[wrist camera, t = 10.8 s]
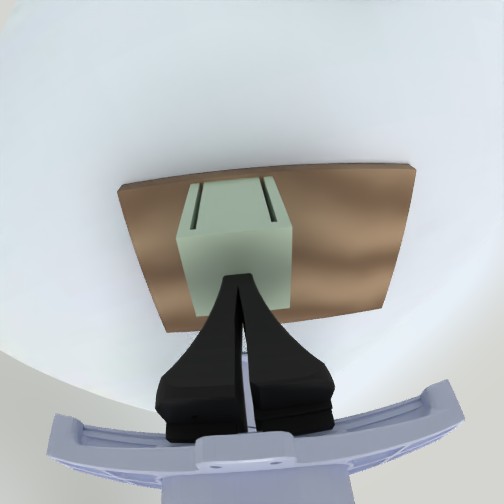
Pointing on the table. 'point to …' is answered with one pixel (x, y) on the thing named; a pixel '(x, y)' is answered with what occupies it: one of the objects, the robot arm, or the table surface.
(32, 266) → the table surface
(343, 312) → the board
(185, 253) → the green slotted cube
